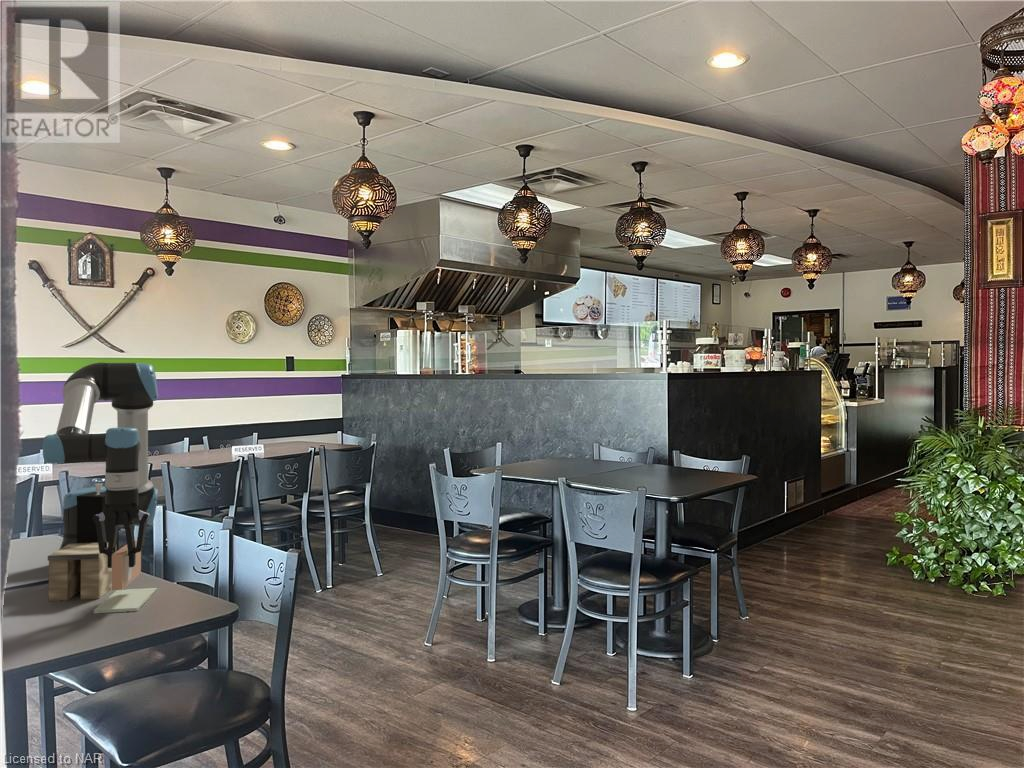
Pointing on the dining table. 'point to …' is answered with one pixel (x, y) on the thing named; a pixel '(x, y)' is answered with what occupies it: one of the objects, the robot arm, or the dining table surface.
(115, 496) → the robot arm
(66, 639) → the dining table surface
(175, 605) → the dining table surface
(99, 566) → the brown boxy piece
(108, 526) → the black tall rectangular block
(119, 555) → the tan rectangular slab
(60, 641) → the dining table surface
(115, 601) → the mat
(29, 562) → the dining table surface
